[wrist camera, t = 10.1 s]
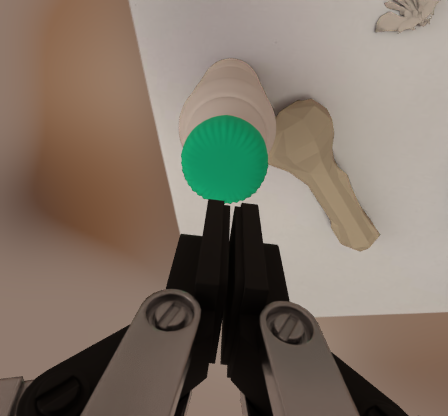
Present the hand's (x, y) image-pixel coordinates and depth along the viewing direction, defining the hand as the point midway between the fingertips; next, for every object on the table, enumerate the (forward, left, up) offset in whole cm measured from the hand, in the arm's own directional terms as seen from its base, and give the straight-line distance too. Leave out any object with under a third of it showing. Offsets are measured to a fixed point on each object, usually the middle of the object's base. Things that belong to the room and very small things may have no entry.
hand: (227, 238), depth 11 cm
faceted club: (+10, +14, -31) cm, 36 cm away
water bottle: (0, 0, -31) cm, 31 cm away
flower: (-12, +16, -31) cm, 37 cm away
